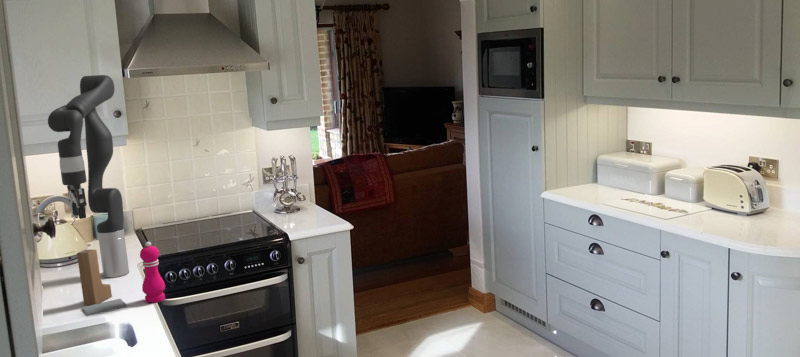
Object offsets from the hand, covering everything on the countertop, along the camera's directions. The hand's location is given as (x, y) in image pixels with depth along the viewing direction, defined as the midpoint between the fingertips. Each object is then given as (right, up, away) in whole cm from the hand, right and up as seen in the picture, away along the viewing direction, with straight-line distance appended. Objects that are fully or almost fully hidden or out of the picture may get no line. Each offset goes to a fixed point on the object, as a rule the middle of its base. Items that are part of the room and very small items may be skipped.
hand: (79, 216), depth 243 cm
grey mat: (+13, -29, -10) cm, 33 cm away
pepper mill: (+28, -28, -5) cm, 39 cm away
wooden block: (+7, -28, -2) cm, 29 cm away
